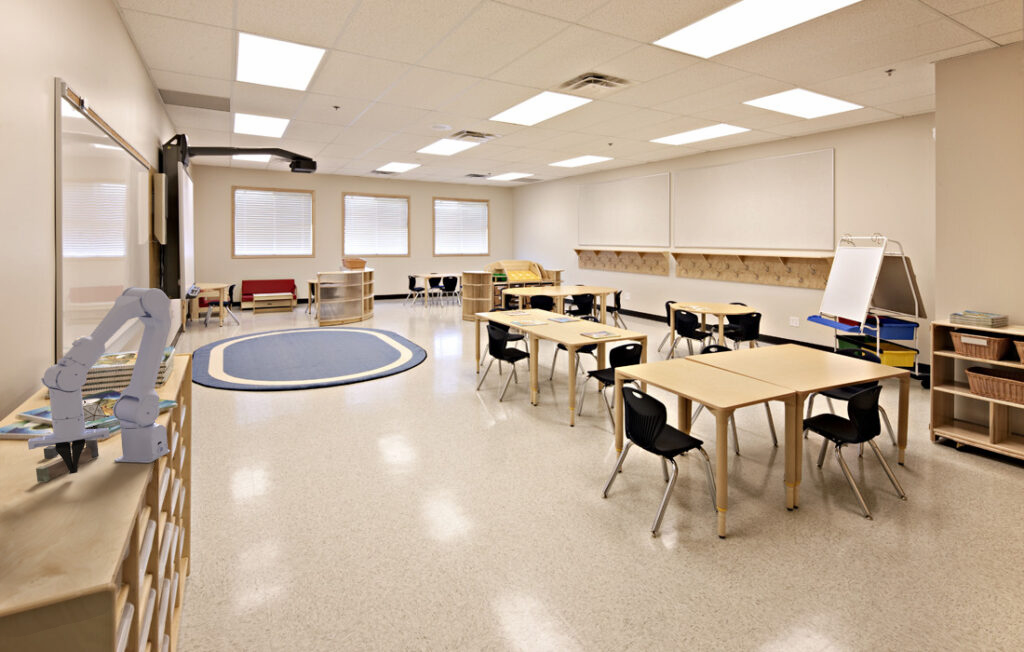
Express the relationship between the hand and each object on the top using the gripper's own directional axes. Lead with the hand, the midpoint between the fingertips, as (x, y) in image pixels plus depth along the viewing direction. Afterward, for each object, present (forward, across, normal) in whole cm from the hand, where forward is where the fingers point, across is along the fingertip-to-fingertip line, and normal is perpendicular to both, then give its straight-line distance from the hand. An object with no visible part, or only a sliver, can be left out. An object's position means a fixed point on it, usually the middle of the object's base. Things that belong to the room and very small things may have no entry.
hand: (73, 471), depth 127 cm
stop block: (+2, +6, -20) cm, 21 cm away
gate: (+1, +1, -7) cm, 8 cm away
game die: (+2, -2, -42) cm, 42 cm away
